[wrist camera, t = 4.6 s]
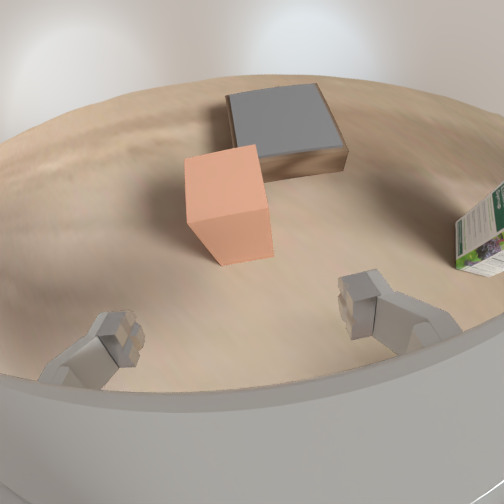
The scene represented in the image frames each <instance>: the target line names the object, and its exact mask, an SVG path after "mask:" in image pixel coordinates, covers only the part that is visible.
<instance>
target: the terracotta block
mask: <svg viewBox="0 0 504 504" xmlns="http://www.w3.org/2000/svg"><path fill="white" fill-rule="evenodd" d="M184 166H185V196H186V216H187V224H188V225H189V227H190V228H191V229H192V230H193V232H194V233H195V234H196V235H197V237H198V238H199V239H200V240H201V242H202V243H203V244H204V245H205V247H206V248H207V249H208V250H209V251H210V253H211V254H212V255H213V256H214V258H215V259H216V260H217V261H218V262H219V264H220V265H221V266H223V265H229V264H235V263H241V262H246V261H252V260H258V259H263V258H269V257H274V250H273V242H272V233H271V224H270V216H269V207H268V202H267V197H266V192H265V187H264V183H263V178H262V173H261V168H260V163H259V159H258V154H257V149H256V145H255V144H254V145H248V146H243V147H237V148H232V149H227V150H223V151H218V152H213V153H209V154H204V155H200V156H196V157H192V158H187V159H184Z"/></svg>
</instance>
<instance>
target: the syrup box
mask: <svg viewBox="0 0 504 504" xmlns="http://www.w3.org/2000/svg"><path fill="white" fill-rule="evenodd" d="M455 228H456V269H459V270H463V271H467V272H470V273H475V274H478V275H483V276H486V277H491V276H493V275H496V274H498V273H500V272H502V271H504V181H503V182H502V183H500V184H499V185H498V186H497V187H496V188H495V189H494V190H493V191H492V192H491V193H490V194H489V195H487V196H486V197H485V198H484V199H483V200H482V201H481V202H479V203H478V204H477V205H476V206H475V207H474V208H472V209H471V210H470V211H469V212H468V213H466V214H465V215H464V216H462V217H461V218H460V219H459V220H457V221H456V223H455Z"/></svg>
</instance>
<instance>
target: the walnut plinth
mask: <svg viewBox="0 0 504 504" xmlns="http://www.w3.org/2000/svg"><path fill="white" fill-rule="evenodd" d="M225 98H226V105H227V111H228V118H229V125H230V132H231V138H232V145H233V148H237V147H243V146H248V145H254V144H255V145H256V149H257V154H258V159H259V163H260V168H261V173H262V178H263V183H266V182H271V181H277V180H284V179H290V178H296V177H303V176H310V175H317V174H324V173H332V172H340V171H343V169H344V166H345V162H346V159H347V156H348V152H349V150H348V148H347V145H346V143H345V141H344V138H343V136H342V134H341V132H340V129H339V127H338V125H337V123H336V121H335V119H334V116H333V114H332V112H331V110H330V108H329V106H328V104H327V102H326V100H325V98H324V96H323V94H322V92H321V90H320V89H319V87H318V85H317V83H316V84H302V85H292V86H283V87H275V88H267V89H260V90H254V91H248V92H242V93H237V94H231V95H226V96H225Z"/></svg>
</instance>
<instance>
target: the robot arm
mask: <svg viewBox="0 0 504 504" xmlns="http://www.w3.org/2000/svg"><path fill="white" fill-rule="evenodd" d="M338 288H339V290H340V292H341V293H340V295H339V296H338V304H339V311H340V314H341V317H342V320H343V321H345V322H346V329H347V332H348V334H349V337H350V339H351V340H355V339H360V338H364V337H369V336H373V337H374V338H375V339H377V340H378V341H380V342H381V343H382V344H384V345H385V346H387V347H388V348H389V349H391V350H392V351H394V352H395V353H396V354H398V355H399V356H397V357H393V358H390V359H387V360H384V361H380V362H377V363H373V364H369V365H366V366H362V367H358V368H354V369H350V370H346V371H342V372H338V373H333V374H329V375H324V376H319V377H314V378H309V379H304V380H298V381H292V382H286V383H280V384H273V385H265V386H257V387H249V388H239V389H229V390H216V391H200V392H165V393H156V392H122V391H107V390H101V388H102V387H103V386H104V385H105V384H106V383H107V382H108V381H109V379H110V378H111V377H112V376H113V375H114V374H115V373H116V372H117V371H118V369H119V368H126V367H136V365H137V362H138V360H139V357H140V354H139V352H138V351H139V350H141V349H142V348H143V345H144V342H145V335H144V332H143V329H142V327H141V326H140V325H139V324H138V323H136V322H135V321H136V316H135V314H134V313H133V311H131V310H120V311H111V312H110V311H108V312H101V313H99V315H98V316H97V318H96V320H95V321H94V323H93V325H92V326H91V328H90V330H89V331H88V333H87V335H86V337H82V338H80V339H79V340H78V341H76V342H75V343H74V344H73V345H71V346H70V347H69V348H67V349H66V350H65V351H63V352H62V353H61V354H59V355H58V356H57V357H55V358H54V359H53V360H52V361H50V362H49V363H48V364H47V365H46V367H45V368H44V370H43V372H42V374H41V376H40V377H39V379H38V381H32V380H28V379H23V378H18V377H14V376H10V375H6V374H2V373H0V504H504V313H502V314H500V315H498V316H496V317H494V318H492V319H490V320H488V321H486V322H484V323H482V324H479V325H477V326H475V327H473V328H471V329H468V330H466V331H464V332H463V331H462V329H461V328H460V327H459V325H458V324H457V323H456V322H455V320H454V319H453V318H452V316H451V315H450V314H449V313H448V312H446V311H444V310H441V309H439V308H437V307H434V306H432V305H429V304H427V303H425V302H422V301H420V300H417V299H415V298H413V297H410V296H408V295H405V294H403V293H401V292H398V291H397V292H394V291H393V290H392V288H391V287H390V285H389V284H388V283H387V281H386V280H385V279H384V277H383V276H382V275H381V273H380V272H379V271H378V270H377V269H372V270H368V271H364V272H361V273H357V274H352V275H348V276H343V277H339V278H338Z"/></svg>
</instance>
